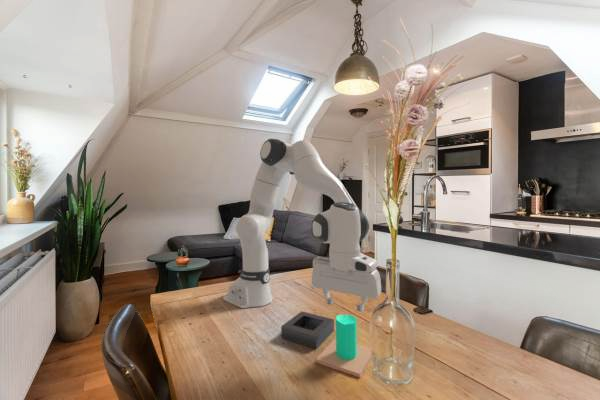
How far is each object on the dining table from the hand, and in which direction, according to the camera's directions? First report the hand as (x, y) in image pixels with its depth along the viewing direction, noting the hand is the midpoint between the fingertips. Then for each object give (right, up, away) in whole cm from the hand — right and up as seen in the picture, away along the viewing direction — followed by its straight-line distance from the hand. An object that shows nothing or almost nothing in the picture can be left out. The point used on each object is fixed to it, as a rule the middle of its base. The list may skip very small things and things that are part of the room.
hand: (344, 307), depth 83 cm
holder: (-10, -15, +14) cm, 23 cm away
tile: (+1, -15, +1) cm, 15 cm away
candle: (+1, -14, +1) cm, 14 cm away
